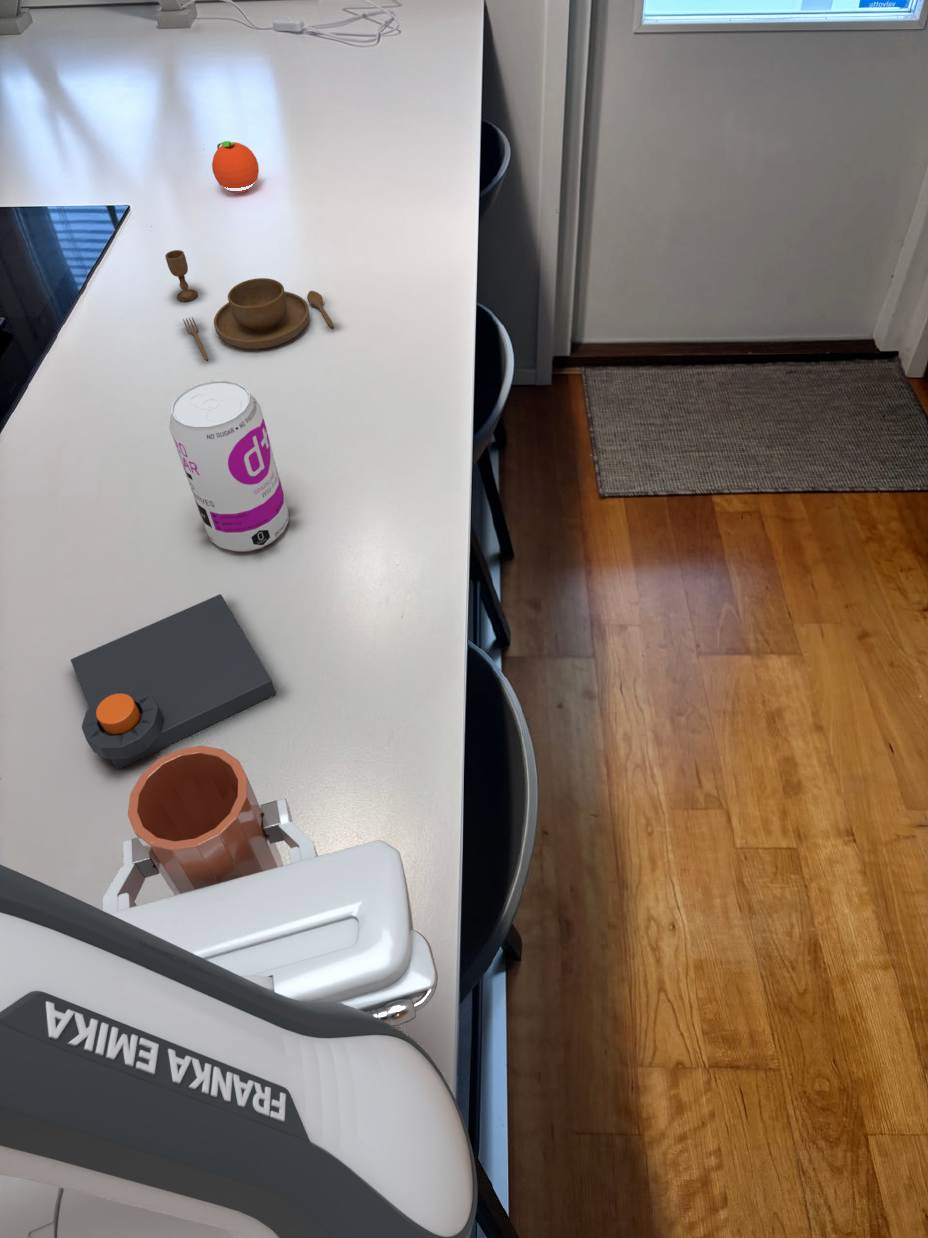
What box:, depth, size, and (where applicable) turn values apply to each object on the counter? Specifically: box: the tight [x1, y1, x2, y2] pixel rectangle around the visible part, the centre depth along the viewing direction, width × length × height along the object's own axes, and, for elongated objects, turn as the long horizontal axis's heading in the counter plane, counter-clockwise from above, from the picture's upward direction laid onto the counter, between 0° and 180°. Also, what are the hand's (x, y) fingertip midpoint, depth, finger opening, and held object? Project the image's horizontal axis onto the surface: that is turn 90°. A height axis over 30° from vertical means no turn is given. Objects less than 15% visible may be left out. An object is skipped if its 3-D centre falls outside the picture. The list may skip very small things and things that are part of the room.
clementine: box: [211, 140, 260, 194], centre depth 145 cm, size 8×7×7 cm
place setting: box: [164, 249, 335, 361], centre depth 120 cm, size 18×20×6 cm
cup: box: [127, 745, 284, 896], centre depth 53 cm, size 6×6×10 cm
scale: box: [70, 593, 277, 770], centre depth 81 cm, size 15×13×4 cm
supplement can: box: [168, 379, 290, 553], centre depth 90 cm, size 8×8×15 cm
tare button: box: [96, 693, 140, 735], centre depth 76 cm, size 3×3×2 cm
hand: (207, 824), depth 54 cm, fingers closed on cup, 6 cm apart
